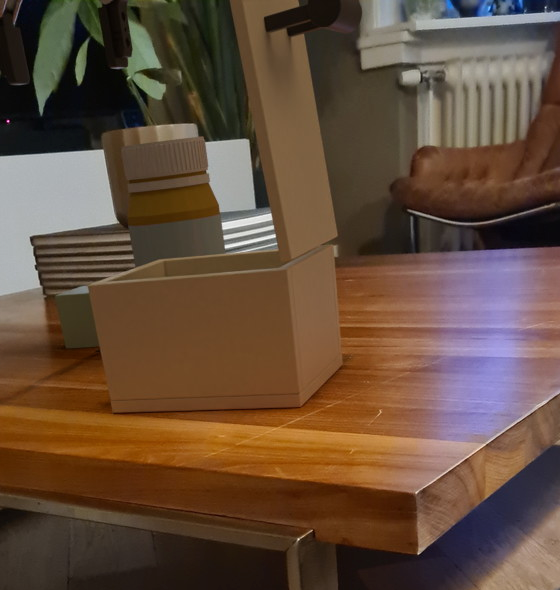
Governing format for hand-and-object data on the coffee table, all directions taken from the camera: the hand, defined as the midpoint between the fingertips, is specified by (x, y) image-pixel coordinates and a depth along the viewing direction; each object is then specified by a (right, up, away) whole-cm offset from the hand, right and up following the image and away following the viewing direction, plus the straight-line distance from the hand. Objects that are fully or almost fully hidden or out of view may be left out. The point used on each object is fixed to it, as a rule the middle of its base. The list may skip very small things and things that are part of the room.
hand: (67, 76), depth 69 cm
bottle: (+9, -19, +5) cm, 22 cm away
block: (+1, -17, +11) cm, 20 cm away
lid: (+16, -13, -17) cm, 26 cm away
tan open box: (+13, -26, -8) cm, 30 cm away
